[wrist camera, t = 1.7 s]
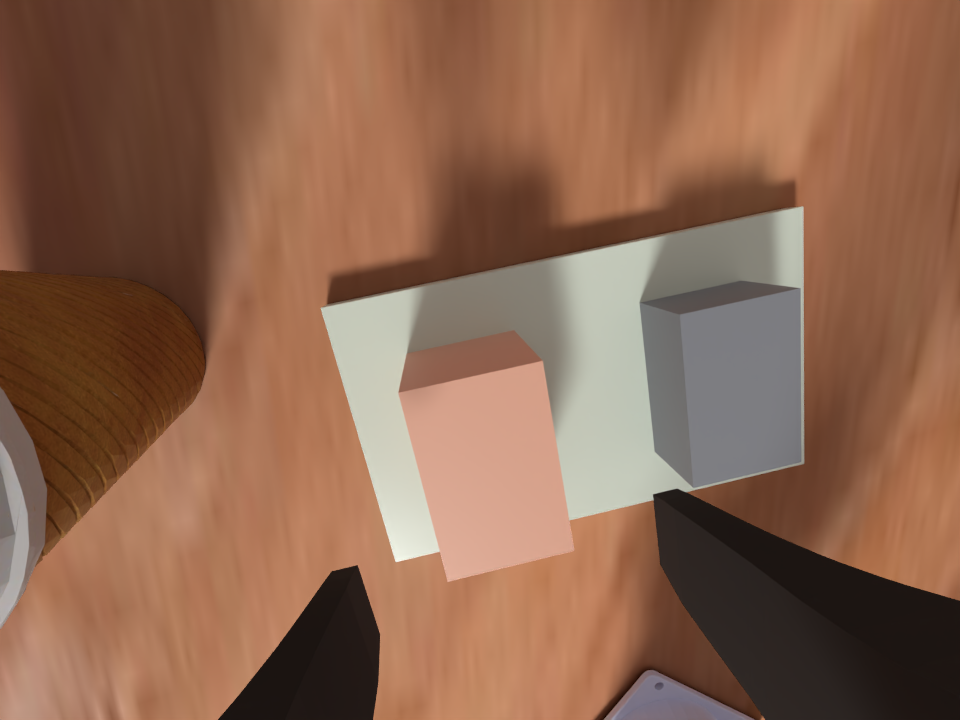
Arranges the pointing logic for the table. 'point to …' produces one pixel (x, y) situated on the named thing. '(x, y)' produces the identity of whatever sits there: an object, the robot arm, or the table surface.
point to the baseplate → (553, 355)
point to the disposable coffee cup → (79, 401)
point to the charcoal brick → (725, 379)
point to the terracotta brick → (486, 453)
